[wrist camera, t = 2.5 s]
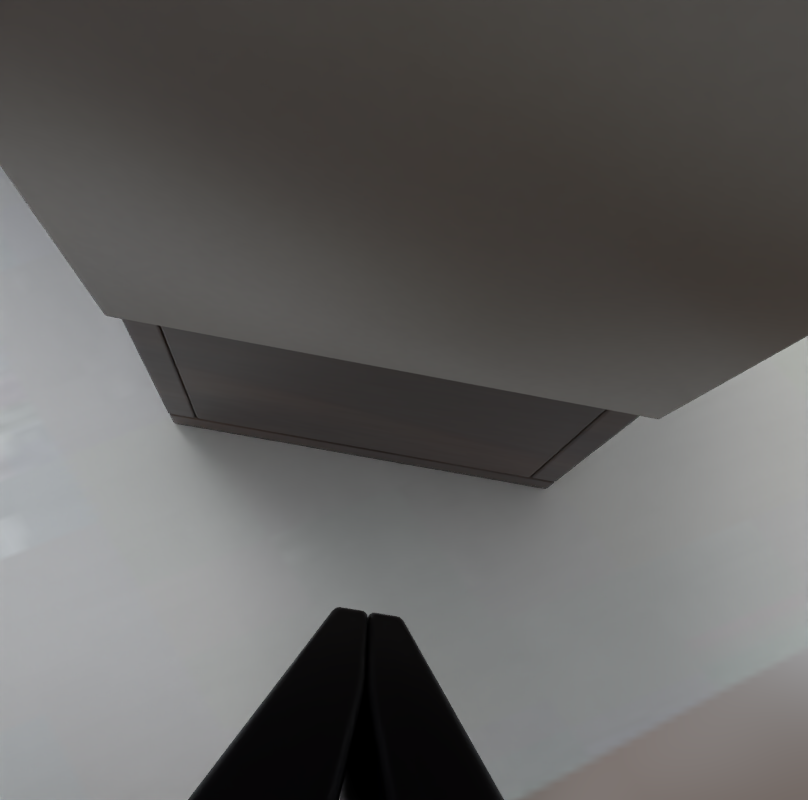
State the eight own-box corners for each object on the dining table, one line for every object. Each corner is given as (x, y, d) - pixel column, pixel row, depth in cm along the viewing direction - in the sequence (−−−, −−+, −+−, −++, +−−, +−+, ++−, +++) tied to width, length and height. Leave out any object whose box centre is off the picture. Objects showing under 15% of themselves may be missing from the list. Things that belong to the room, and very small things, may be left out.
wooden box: (264, 112, 25) (252, -74, 19) (564, 176, 26) (646, 18, 20) (172, 423, 20) (115, 310, 14) (546, 489, 21) (650, 410, 15)
